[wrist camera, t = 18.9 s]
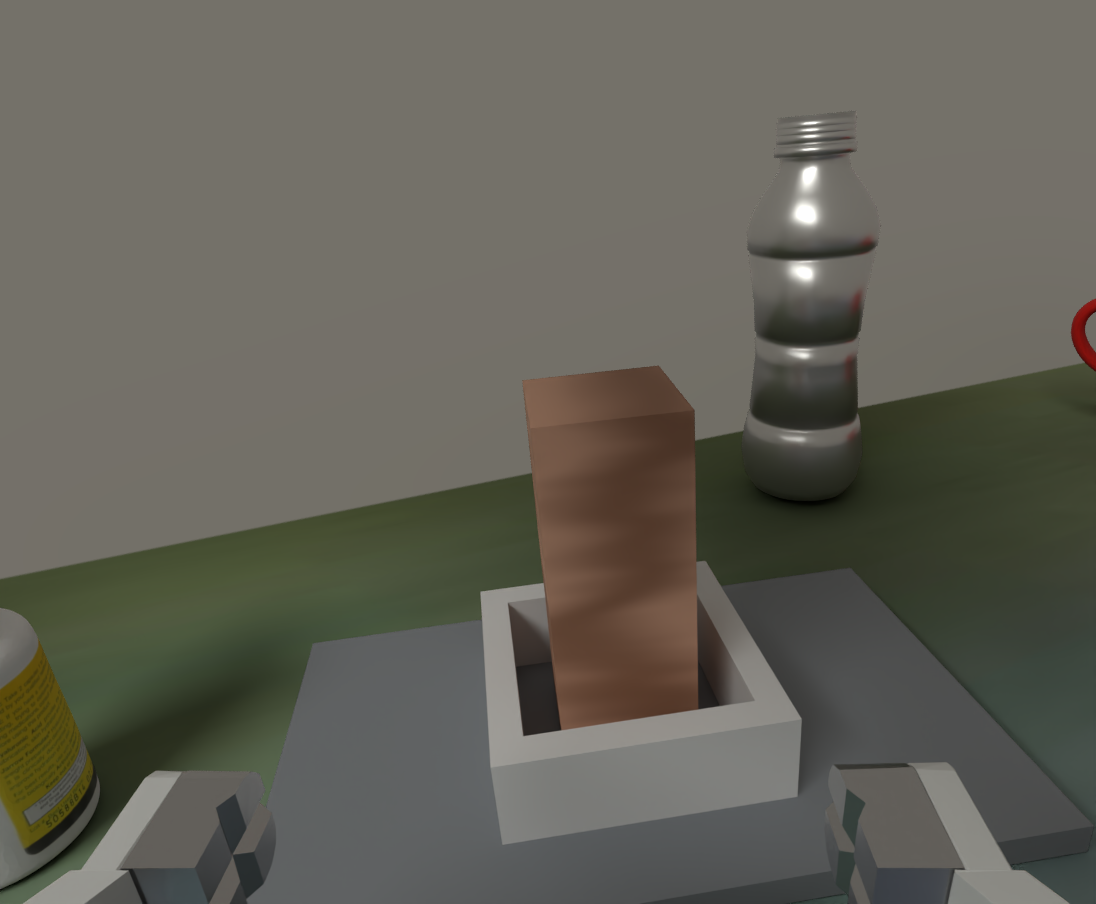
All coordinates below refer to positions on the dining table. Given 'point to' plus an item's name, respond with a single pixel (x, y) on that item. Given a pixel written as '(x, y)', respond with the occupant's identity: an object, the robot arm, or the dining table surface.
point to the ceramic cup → (1079, 336)
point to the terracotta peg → (616, 542)
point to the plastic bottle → (809, 311)
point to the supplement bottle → (37, 758)
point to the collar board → (625, 759)
